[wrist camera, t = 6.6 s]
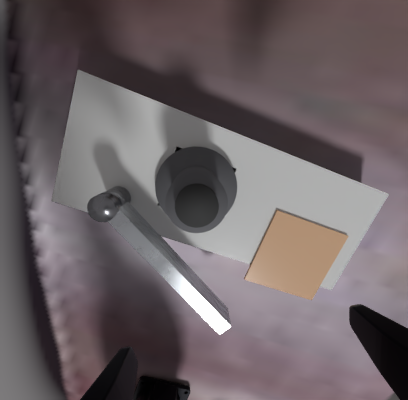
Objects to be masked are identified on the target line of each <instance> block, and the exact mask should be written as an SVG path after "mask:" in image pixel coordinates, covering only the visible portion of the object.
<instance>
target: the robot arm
mask: <svg viewBox="0 0 408 400" xmlns="http://www.w3.org/2000/svg"><path fill="white" fill-rule="evenodd" d="M349 321H350V325H351V327H352V329H353V331H354V332H355V334H356V336H357V337H358V339H359V340H360V342H361V343H362V345H363V347H364V348H365V350H366V351H367V353H368V355H369V356H370V358H371V359H372V361H373V363H374V364H375V366H376V367H377V369H378V370H379V372H380V373H381V375H382V376H383V377H384V379H385V380H386V381H387V383H388V384H389V385H390V387H391V388H392V389H393V391H394V392H395V394H396V395H397V396H398V397H399V399H400V400H408V328H406V327H404V326H402V325H400V324H398V323H396V322H394V321H392V320H391V319H389V318H387V317H385V316H383V315H381V314H379V313H377V312H375V311H373V310H371V309H370V308H368V307H366V306H364V305H361V304H358V305H352V306H350V308H349ZM137 368H138V362H137V359H136V356H135V354H134V351H133V349H132V347H125V348H121V349H120V350H119V351H118V353H117V354H116V355H115V356H114V358H113V359H112V360H111V361H110V363H109V364H108V365H107V366H106V368H105V369H104V370H103V372H102V373H101V374H100V375H99V377H98V378H97V379H96V380H95V382H94V383H93V384H92V385H91V387H90V388H89V389H88V390H87V392H86V393H85V394H84V395H83V397H82V398H81V399H80V400H187V399H188V396H189V394H190V387H188V386H185V385H180V384H176V383H172V382H167V381H163V380H158V379H154V378H150V377H145V376H142V377H140V379H139V382H138V384H137V387H136V390H135V383H136V375H137ZM134 390H135V392H134Z"/></svg>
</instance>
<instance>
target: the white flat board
mask: <svg viewBox="0 0 408 400" xmlns="http://www.w3.org/2000/svg"><path fill="white" fill-rule="evenodd" d="M194 146H196V147H205V148H209V149H212V150H214V151H216V152H218V153H219V154H221V155H222V156H223V157H224V158H225V159H226V160H227V161H228V162H229V163H230V165H231V166H232V168H233V170H234V172H235V175H236V180H237V194H236V198H235V201H234V204H233V206H232V207H231V209H230V210H229V212H228V213H227V214H226V215H225V217H224V219H223V220H222V221H221V223H220V224H219V225H218V226H216V227H215V228H213V229H212V230H210V231H207V232H203V233H190V232H186V231H184V230H182V229H180V228H178V227H177V226H176V225H175V224H173V222H172V221H171V220H170V218H169V217H168V216H167V215H166V214H165V212H164V211H163V210H162V208H161V207H160V205H159V203H158V200H157V197H156V192H155V181H156V176H157V173H158V171H159V169H160V167H161V165H162V164H163V162H164V161H165V160H166V159H167V158H168V157H169V156H170V155H172V154H173V153H175V152H176V151H178V150H179V147H180V148H187V147H194ZM115 186H121V187H124V188H126V189H127V190H128V191H129V193H130V195H131V201H130V204H131V205H132V206H133V207H134V208H135V209H136V210H137V211H138V213H139V214H140V215H141V216H142V217H143V218H144V219H145V220H146V221H147V222H148V223H149V224H150V225H151V226H152V228H153V229H154V230H155V231H156V232H157V233H158V234H159V235H160V236H162V237H165V238H169V239H172V240H175V241H178V242H181V243H184V244H187V245H191V246H194V247H197V248H200V249H203V250H206V251H209V252H213V253H216V254H219V255H222V256H225V257H228V258H231V259H235V260H238V261H241V262H244V263H247V264H250V267H249V269H248V271H247V273H246V275H245V277H244V279H245V280H247V281H251V282H254V283H257V284H260V285H264V286H267V287H270V288H273V289H277V290H280V291H283V292H286V293H290V294H293V295H296V296H299V297H303V298H306V299H309V300H312V299H313V297H314V295H315V294H316V292H317V290H318V288H319V287H323V288H326V289H329V290H332V289H333V287H334V285H335V284H336V282H337V280H338V279H339V277H340V275H341V274H342V272H343V270H344V269H345V267H346V265H347V264H348V262H349V260H350V259H351V257H352V255H353V254H354V252H355V250H356V249H357V247H358V245H359V244H360V242H361V240H362V239H363V237H364V235H365V233H366V232H367V230H368V228H369V227H370V225H371V223H372V222H373V220H374V218H375V217H376V215H377V213H378V212H379V210H380V208H381V207H382V205H383V203H384V202H385V200H386V198H387V197H388V195H389V194H387V193H385V192H382V191H380V190H377V189H375V188H372V187H370V186H367V185H365V184H362V183H360V182H357V181H355V180H352V179H350V178H347V177H345V176H342V175H340V174H337V173H335V172H332V171H330V170H327V169H325V168H322V167H320V166H317V165H315V164H312V163H310V162H307V161H305V160H302V159H300V158H297V157H295V156H292V155H290V154H287V153H285V152H282V151H280V150H277V149H275V148H272V147H270V146H267V145H265V144H262V143H260V142H257V141H255V140H253V139H250V138H248V137H245V136H243V135H240V134H238V133H235V132H233V131H230V130H228V129H225V128H223V127H220V126H218V125H215V124H213V123H210V122H208V121H205V120H203V119H200V118H198V117H195V116H193V115H190V114H188V113H185V112H183V111H180V110H178V109H175V108H173V107H170V106H168V105H165V104H163V103H160V102H158V101H155V100H153V99H150V98H148V97H145V96H143V95H140V94H138V93H135V92H133V91H130V90H128V89H125V88H123V87H120V86H118V85H115V84H113V83H110V82H108V81H105V80H103V79H100V78H98V77H95V76H93V75H90V74H88V73H86V72H83V71H81V70H78V71H77V76H76V81H75V86H74V91H73V96H72V101H71V106H70V111H69V116H68V121H67V126H66V131H65V136H64V141H63V146H62V151H61V156H60V161H59V166H58V171H57V176H56V181H55V186H54V191H53V196H52V202H55V203H59V204H62V205H65V206H68V207H71V208H74V209H77V210H81V211H84V212H87V213H88V211H87V204H88V202H89V200H90V199H91V198H92V197H94V196H96V195H98V194H100V193H103V192H105V191H107V190H109V189H111V188H113V187H115Z"/></svg>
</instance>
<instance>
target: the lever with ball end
mask: <svg viewBox="0 0 408 400" xmlns="http://www.w3.org/2000/svg"><path fill="white" fill-rule="evenodd" d="M130 201H131V195H130V193H129V191H128V190H127V189H126V188H124V187H121V186H115V187H113V188H111V189H109V190H107V191H105V192H103V193H100V194H98V195H96V196H94V197H92V198H91V199H90V200H89V202H88V204H87V211H88V213H89V215H90V216H91V218H93V219H94V220H96V221H98V222H108V223H109V224H110V225H111V226H112V227H113V228H114V229H115V230H116V231H117V232H118V233H119V234H120V235H121V236H122V237H123V238H124V239H125V240H126V241H127V242H128V243H129V244H130V245H131V246H132V247H133V248H134V249H135V250H136V251H137V252H138V253H139V254H140V255H141V256H142V257H143V258H144V259H145V260H146V261H147V262H148V263H149V264H150V265H151V266H152V267H153V268H154V269H155V270H156V271H157V272H158V273H159V274H160V275H161V276H162V277H163V278H164V279H165V280H166V281H167V282H168V283H169V284H170V285H171V286H172V287H173V288H174V289H175V290H176V291H177V292H178V293H179V294H180V295H181V296H182V297H183V298H184V299H185V300H186V301H187V302H188V303H189V304H190V305H191V306H192V307H193V308H194V309H195V310H196V311H197V312H198V313H199V314H200V315H201V316H202V317H203V318H204V319H205V320H206V322H207V323H208V324H209V325H210V326H211V327H212V328H213V329H214V330H215V331H216V332H217V333H218V334H219V335H220V334H221V333H223V332H224V331H226V330H227V329H229V328H230V327H231V323H230V318H229V313H228V308H227V307H226V306H225V305H224V304H223V303H222V302H221V300H220V299H219V298H218V297H217V296H216V295H215V294H214V293H213V292H212V291H211V290H210V289H209V288H208V286H207V285H206V284H205V283H204V282H203V281H202V280H201V279H200V278H199V277H198V276H197V275H196V274H195V273H194V271H193V270H192V269H191V268H190V267H189V266H188V265H187V264H186V263H185V262H184V261H183V260H182V259H181V258H180V256H179V255H178V254H177V253H176V252H175V251H174V250H173V249H172V248H171V247H170V246H169V245H168V244H167V243H166V241H165V240H164V239H163V238H162V237H161V236H160V235H159V234H158V233H157V232H156V231H155V230H154V229H153V228H152V226H151V225H150V224H149V223H148V222H147V221H146V220H145V219H144V218H143V217H142V216H141V215H140V214H139V213H138V211H137V210H136V209H135V208H134V207H133V206H132V205H131V204H130Z"/></svg>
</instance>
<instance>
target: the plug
mask: <svg viewBox="0 0 408 400" xmlns="http://www.w3.org/2000/svg"><path fill="white" fill-rule="evenodd" d="M155 192H156V197H157V200H158V203H159V205H160V207H161V208H162V210H163V211H164V212H165V214H166V215H167V216H168V217H169V218H170V220H171V221H172V222H173V224H175V225H176V226H177V227H178V228H180V229H182V230H184V231H186V232H190V233H203V232H207V231H210V230H212V229H213V228H215V227H216V226H218V225H219V224H220V223H221V221H222V220H223V219H224V217H225V215H226V214H227V213H228V212H229V210H230V209H231V207H232V206H233V204H234V201H235V198H236V194H237V180H236V175H235V172H234V170H233V168H232V166H231V165H230V163H229V162H228V161H227V160H226V159H225V158H224V157H223V156H222V155H221V154H219V153H218V152H216V151H214V150H212V149H209V148H205V147H196V146H194V147H187V148H183V149H181V150H178V151H176V152H175V153H173V154H172V155H170V156H169V157H168V158H167V159H166V160H165V161H164V162H163V164H162V165H161V167H160V169H159V171H158V173H157V176H156V181H155Z"/></svg>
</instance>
